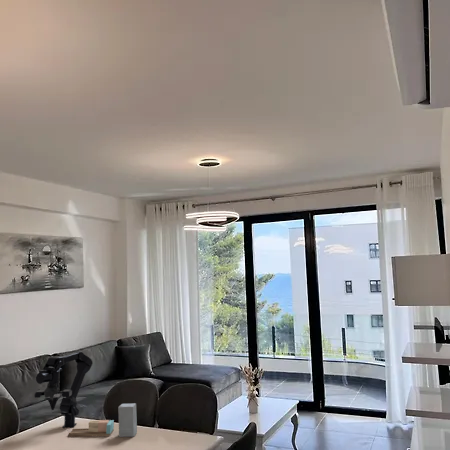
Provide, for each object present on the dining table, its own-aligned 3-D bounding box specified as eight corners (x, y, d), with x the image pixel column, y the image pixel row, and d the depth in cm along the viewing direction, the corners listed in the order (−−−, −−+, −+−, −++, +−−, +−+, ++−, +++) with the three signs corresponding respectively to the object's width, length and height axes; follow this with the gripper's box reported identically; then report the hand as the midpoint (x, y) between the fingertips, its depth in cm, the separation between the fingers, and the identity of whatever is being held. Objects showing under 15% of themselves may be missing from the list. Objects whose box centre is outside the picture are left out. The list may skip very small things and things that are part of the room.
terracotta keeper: (99, 429, 251) (100, 420, 251) (109, 429, 251) (109, 420, 252) (97, 432, 246) (98, 422, 247) (107, 432, 246) (107, 422, 247)
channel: (73, 431, 252) (73, 428, 252) (113, 430, 253) (113, 427, 253) (68, 437, 243) (68, 433, 244) (110, 436, 244) (110, 432, 244)
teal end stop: (109, 428, 253) (110, 420, 254) (113, 428, 253) (113, 420, 254) (106, 433, 244) (106, 425, 245) (110, 433, 244) (110, 425, 245)
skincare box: (137, 433, 248) (137, 402, 250) (133, 437, 241) (133, 406, 243) (121, 433, 249) (122, 402, 251) (117, 437, 242) (118, 406, 244)
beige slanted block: (90, 430, 250) (90, 420, 251) (99, 429, 251) (100, 420, 251) (88, 432, 246) (88, 422, 247) (97, 432, 246) (98, 422, 247)
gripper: (31, 383, 246) (29, 414, 244) (66, 383, 246) (65, 413, 244) (38, 379, 257) (37, 408, 255) (72, 378, 257) (71, 408, 255)
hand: (52, 409), depth 252 cm, fingers closed
